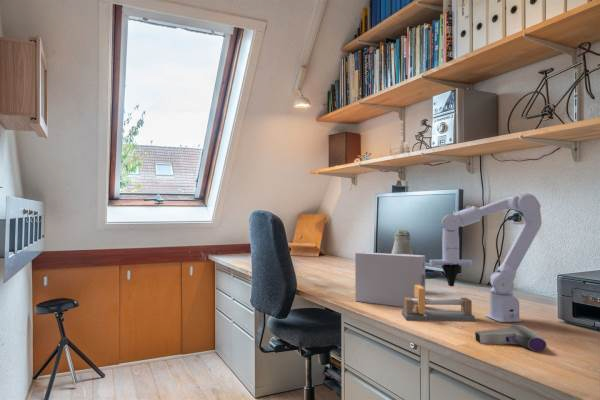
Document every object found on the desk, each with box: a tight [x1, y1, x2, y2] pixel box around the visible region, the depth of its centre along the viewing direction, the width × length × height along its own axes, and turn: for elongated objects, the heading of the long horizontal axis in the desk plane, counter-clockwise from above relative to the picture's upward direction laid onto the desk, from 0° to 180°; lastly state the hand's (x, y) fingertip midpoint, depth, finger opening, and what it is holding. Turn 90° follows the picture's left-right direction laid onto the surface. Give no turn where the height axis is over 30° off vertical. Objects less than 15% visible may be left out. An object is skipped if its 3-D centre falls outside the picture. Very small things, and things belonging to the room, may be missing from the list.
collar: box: [414, 285, 426, 314], centre depth 151 cm, size 2×7×9 cm, turn 177°
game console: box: [354, 251, 426, 309], centre depth 173 cm, size 6×27×20 cm, turn 59°
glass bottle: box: [391, 229, 413, 255], centre depth 201 cm, size 10×10×28 cm
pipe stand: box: [401, 297, 476, 322], centre depth 151 cm, size 23×8×7 cm, turn 87°
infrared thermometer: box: [474, 324, 547, 352], centre depth 120 cm, size 5×12×15 cm
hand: (451, 285), depth 154 cm, fingers closed
